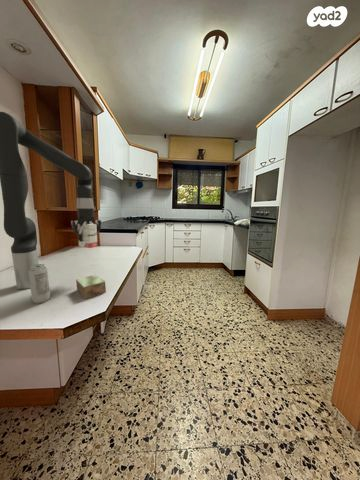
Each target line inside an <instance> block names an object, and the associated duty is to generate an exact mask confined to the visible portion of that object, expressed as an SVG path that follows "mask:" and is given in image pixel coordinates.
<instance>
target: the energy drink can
mask: <svg viewBox="0 0 360 480" xmlns="http://www.w3.org/2000/svg"><path fill="white" fill-rule="evenodd" d="M45 265H46V264H44V263H38V264H36V265H32V266H30V269H29V271H28V273H29V280H30V287H31V288H30V292H31V293H30V294H31V301H32V302H33V303H34V304H43V303H45V301H46V302H48V301H49V300H50V297H51V290H50V282H49V281H50V280H49V276H48V275H49V274H48V268H47V267H46V266H45ZM47 300H48V301H47Z"/></svg>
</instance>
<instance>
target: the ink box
mask: <svg viewBox="0 0 360 480" xmlns="http://www.w3.org/2000/svg"><path fill="white" fill-rule="evenodd" d="M79 226H80V225H79V223H77V230H78V229H79ZM80 228H81V226H80ZM81 234H82V241H81V242H80V241H79V240H78V247H81V248H87V249H92V248H96V247H98V232H97V224H96V223H94V224H84V229H83V230H82V233H81Z"/></svg>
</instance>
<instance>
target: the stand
mask: <svg viewBox="0 0 360 480" xmlns="http://www.w3.org/2000/svg"><path fill="white" fill-rule="evenodd" d="M75 283H76V290H77V292H78V293H79V294H80V295H81V296H82V297H83V299H88V298H92V297H95V296H97V295H98V296H99V295H102V294H105V293H107V288H106V280H105V279H103V278H102V277H100V276H99V275H97V274H92V275H88V276H84V277H80V278H76V279H75Z"/></svg>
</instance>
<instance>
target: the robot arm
mask: <svg viewBox="0 0 360 480" xmlns="http://www.w3.org/2000/svg"><path fill="white" fill-rule="evenodd" d="M19 145H20V146H23V147H25V148H26V149H29V150H31V151H33V152H34V153H36V154H38V155H39V156H41V157H42V158H44V159H45V160H46V161H48V162H50V163H51V164H53V165H54V166H56V167H58V168H60V169H62V170H63V171H66V172H67V173H68V174H70V175H72V176H73V177H75V178H76V180H77V183H76V184H77V186H76V210H77V212H76V213H77V220H70V225H71V229H72V232H73V233H74V234H77V240H78V242H79V241H80V242H81V241H82V234H81V233H82V230H83V229H84V224H96V225H97V233H99V232H101V229H102V228H101V227H102V220H101V219H95V205H94V199H93V198H94V197H93V196H94V195H93V174H92V171H91V169H90V168H89V167H88V166H87V165H85V164H84V163H82V162H80V161H78V160H76V159H74V158H73V157H71V156H70V155H69V154H67V153H65V152H64V151H62V150H60V149H59V148H57V147H56V146H54V145H51V144H50V143H48V142H45V141H44V140H42V139H41V138H39V137H38V136H36V135H35V134H33V133H32V132H31V131H29V130H28V129H27V128H26V127H24V126H23V124H22V123H21V122H20V121H19V120H17V119H16V118H15V117H14V116H12V115H11V114H10V113H7V112H5V111H0V187H1V196H2V202H3V203H2V204H3V230H4V233H5V234H6V235H8V236H9V237H10V238H11V239H13V243H12V245H11V246H10V251H11V257H12V264H13V270H14V272H13V273H14V277H15V283H16V284H15V285H16V288H17V290H26V289H31V287H30V280H29V273H28V271H29V269H30V266H32V265H36V264H39V257H38V250H37V245H38V235H37V234H38V233H37V228H36V227H37V226H36V224H35V222H34V221H33V220H32V219H31V218H30V217H27V216H26V208H25V205H26V200H27V198H28V193H29V180H28V179H29V178H28V173H27V172H28V171H27V169H26V167H25V164H24V162H23V159H22V157H21V154H20V150H19ZM78 224H79V225H80V226H81V228H80V226H79V229H78V228H77V226H78Z"/></svg>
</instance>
